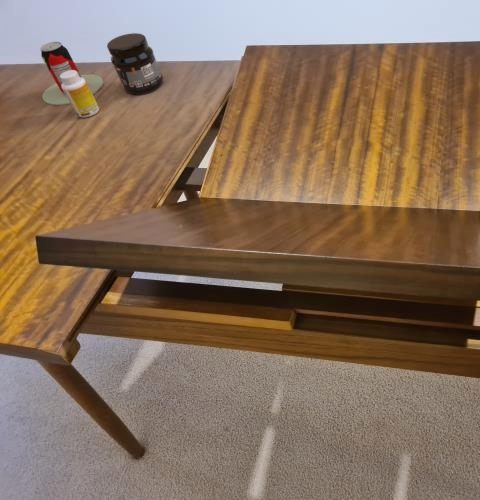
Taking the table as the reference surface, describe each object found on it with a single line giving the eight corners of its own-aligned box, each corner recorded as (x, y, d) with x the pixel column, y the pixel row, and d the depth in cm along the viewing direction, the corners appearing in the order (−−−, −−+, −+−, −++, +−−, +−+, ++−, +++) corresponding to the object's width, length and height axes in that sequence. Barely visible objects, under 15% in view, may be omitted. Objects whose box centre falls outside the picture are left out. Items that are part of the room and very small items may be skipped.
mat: (30, 101, 122) (29, 99, 122) (72, 73, 132) (72, 71, 132) (74, 108, 117) (73, 107, 117) (115, 78, 127) (115, 77, 126)
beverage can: (89, 83, 125) (66, 39, 117) (83, 94, 121) (59, 49, 112) (66, 86, 125) (42, 42, 117) (59, 97, 121) (33, 53, 112)
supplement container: (132, 77, 126) (113, 33, 117) (169, 75, 125) (152, 30, 116) (119, 97, 119) (97, 51, 110) (157, 95, 118) (139, 48, 109)
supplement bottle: (104, 108, 116) (85, 69, 108) (89, 120, 112) (67, 80, 105) (88, 105, 118) (68, 67, 110) (72, 116, 114) (50, 78, 107)
